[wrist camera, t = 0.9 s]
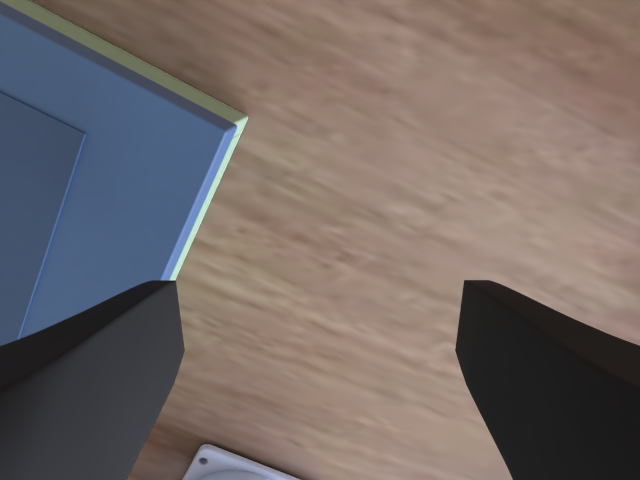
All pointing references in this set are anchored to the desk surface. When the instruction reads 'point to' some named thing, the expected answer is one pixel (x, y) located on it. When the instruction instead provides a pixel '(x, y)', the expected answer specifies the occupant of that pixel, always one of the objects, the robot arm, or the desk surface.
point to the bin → (22, 4)
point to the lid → (90, 175)
